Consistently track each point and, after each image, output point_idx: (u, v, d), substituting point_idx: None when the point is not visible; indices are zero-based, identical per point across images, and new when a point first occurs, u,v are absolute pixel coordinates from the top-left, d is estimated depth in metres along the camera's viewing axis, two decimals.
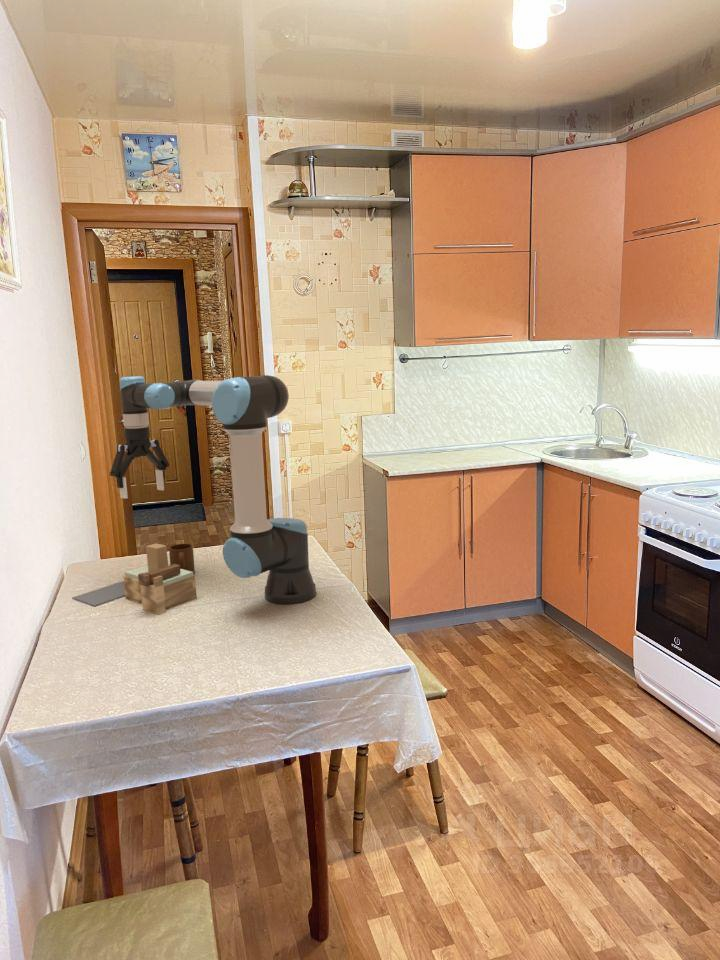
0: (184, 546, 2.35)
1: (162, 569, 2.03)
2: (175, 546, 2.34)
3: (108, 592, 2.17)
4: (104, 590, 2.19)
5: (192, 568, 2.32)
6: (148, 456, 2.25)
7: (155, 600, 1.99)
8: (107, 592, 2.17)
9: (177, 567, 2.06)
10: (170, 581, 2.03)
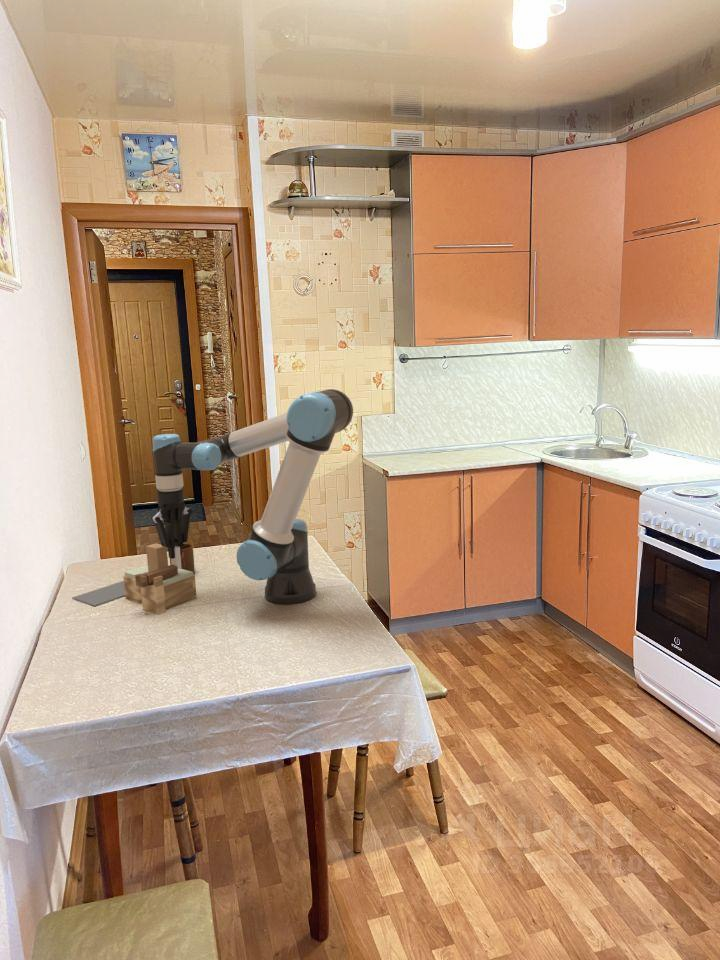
0: (184, 546, 2.35)
1: (159, 570, 2.02)
2: None
3: (108, 592, 2.17)
4: (104, 590, 2.19)
5: (192, 568, 2.32)
6: (174, 523, 2.05)
7: (155, 600, 1.99)
8: (107, 592, 2.17)
9: (174, 568, 2.05)
10: (170, 581, 2.03)
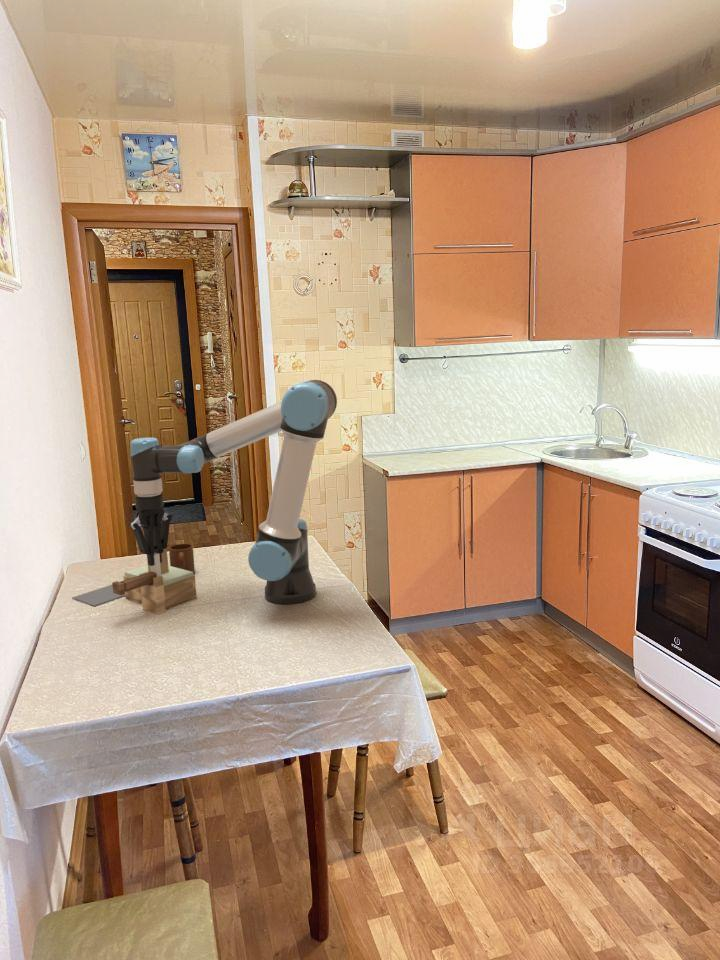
0: (184, 546, 2.35)
1: (138, 577, 1.97)
2: (175, 546, 2.34)
3: (108, 592, 2.17)
4: (104, 590, 2.19)
5: (192, 568, 2.32)
6: (154, 529, 2.00)
7: (155, 600, 1.99)
8: (107, 592, 2.17)
9: (153, 575, 2.00)
10: (170, 581, 2.03)
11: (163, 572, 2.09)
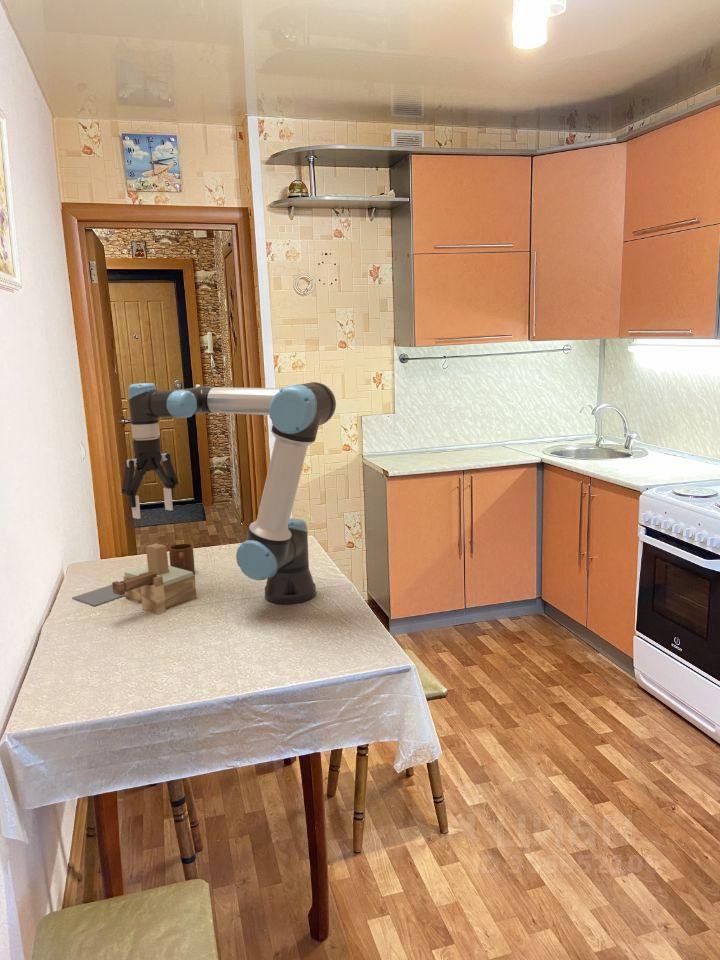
0: (184, 546, 2.35)
1: (137, 577, 1.97)
2: (175, 546, 2.34)
3: (108, 592, 2.17)
4: (104, 590, 2.19)
5: (192, 568, 2.32)
6: (157, 471, 2.07)
7: (155, 600, 1.99)
8: (107, 592, 2.17)
9: (153, 575, 2.00)
10: (170, 581, 2.03)
11: (163, 572, 2.09)
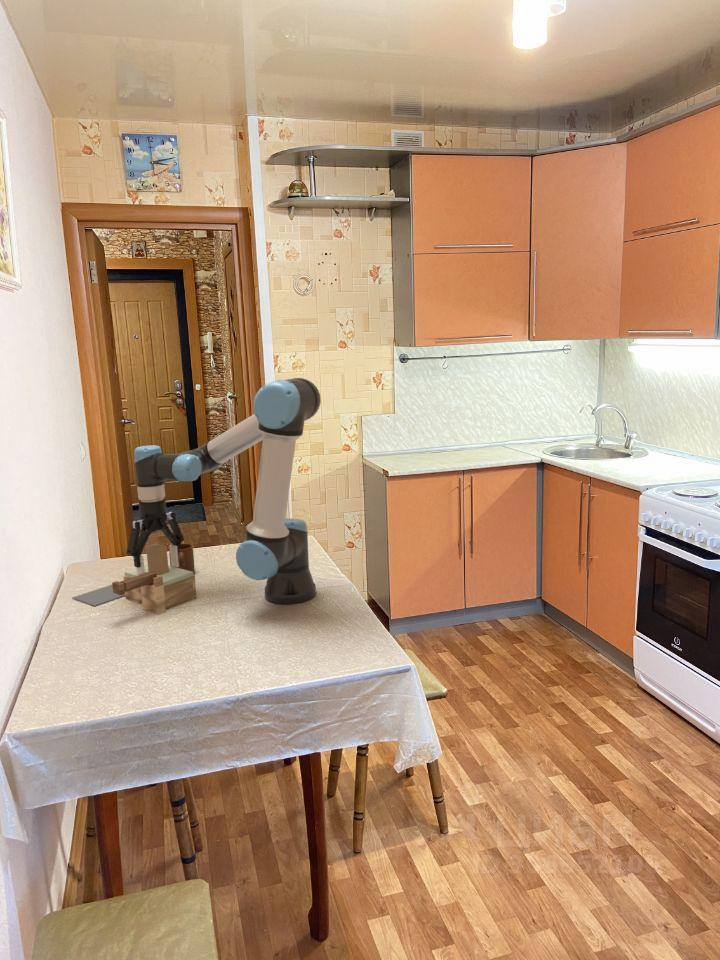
0: (184, 546, 2.35)
1: (137, 577, 1.97)
2: None
3: (108, 592, 2.17)
4: (104, 590, 2.19)
5: (192, 568, 2.32)
6: (163, 530, 2.10)
7: (155, 600, 1.99)
8: (107, 592, 2.17)
9: (153, 575, 2.00)
10: (170, 581, 2.03)
11: (163, 572, 2.09)
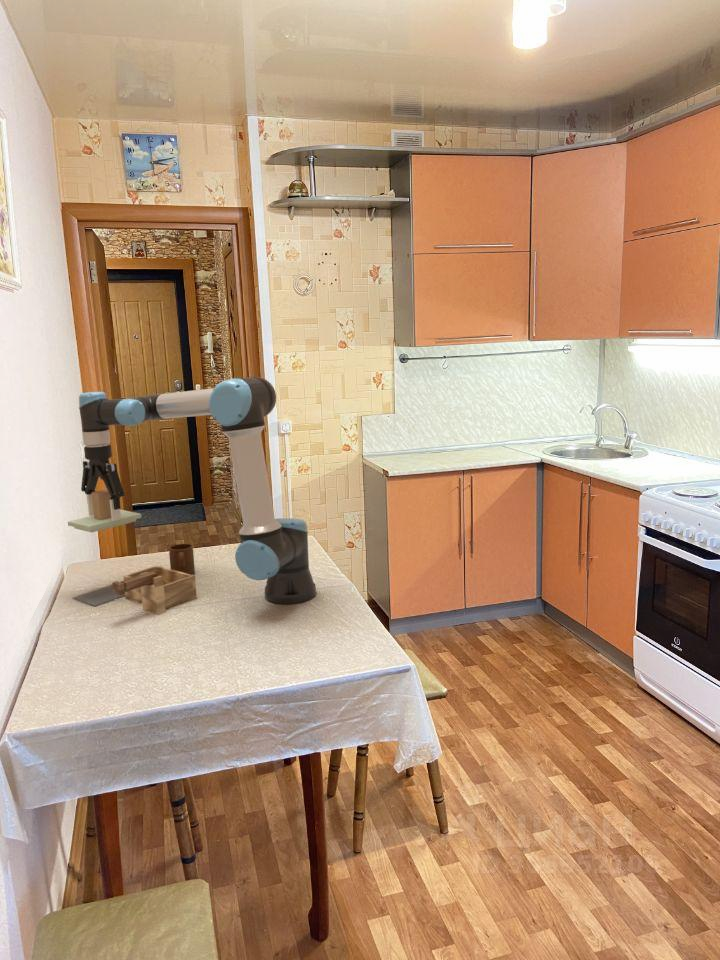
0: (184, 546, 2.35)
1: (137, 577, 1.97)
2: (175, 546, 2.34)
3: (108, 592, 2.17)
4: (104, 590, 2.19)
5: (192, 568, 2.32)
6: None
7: (155, 600, 1.99)
8: (107, 592, 2.17)
9: (153, 575, 2.00)
10: (73, 524, 2.09)
11: (97, 518, 2.12)
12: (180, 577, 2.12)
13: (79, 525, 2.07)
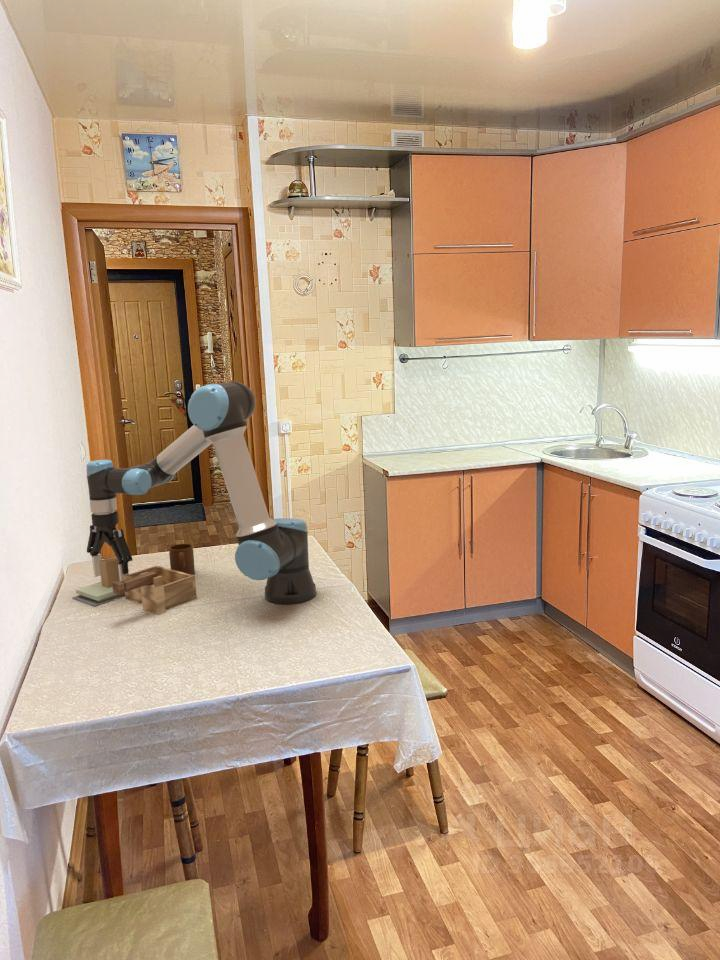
0: (184, 546, 2.35)
1: (137, 577, 1.97)
2: (175, 546, 2.34)
3: None
4: None
5: (192, 568, 2.32)
6: None
7: (155, 600, 1.99)
8: None
9: (153, 575, 2.00)
10: (81, 593, 2.13)
11: (104, 585, 2.16)
12: (180, 577, 2.12)
13: (87, 594, 2.11)
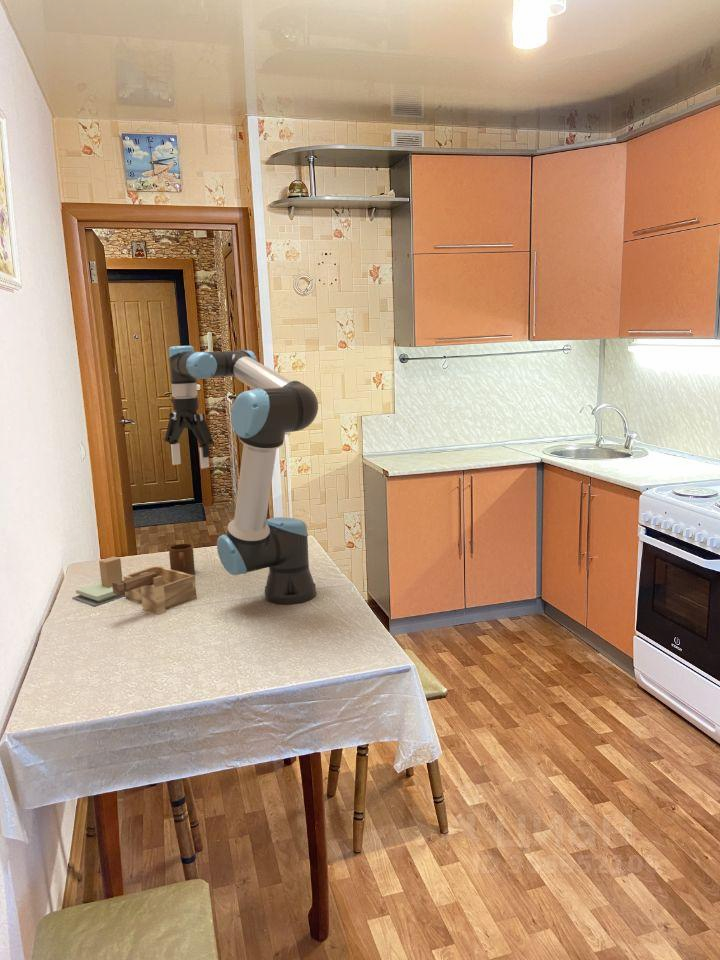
0: (184, 546, 2.35)
1: (137, 577, 1.97)
2: (175, 546, 2.34)
3: None
4: None
5: (192, 568, 2.32)
6: None
7: (155, 600, 1.99)
8: None
9: (153, 575, 2.00)
10: (81, 593, 2.13)
11: (104, 585, 2.16)
12: (180, 577, 2.12)
13: (87, 594, 2.11)
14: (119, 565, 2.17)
